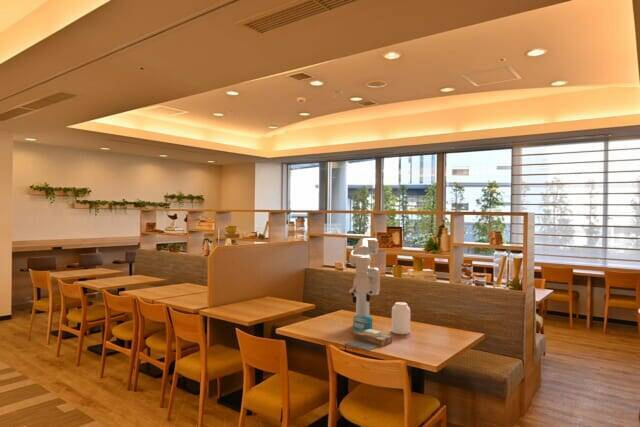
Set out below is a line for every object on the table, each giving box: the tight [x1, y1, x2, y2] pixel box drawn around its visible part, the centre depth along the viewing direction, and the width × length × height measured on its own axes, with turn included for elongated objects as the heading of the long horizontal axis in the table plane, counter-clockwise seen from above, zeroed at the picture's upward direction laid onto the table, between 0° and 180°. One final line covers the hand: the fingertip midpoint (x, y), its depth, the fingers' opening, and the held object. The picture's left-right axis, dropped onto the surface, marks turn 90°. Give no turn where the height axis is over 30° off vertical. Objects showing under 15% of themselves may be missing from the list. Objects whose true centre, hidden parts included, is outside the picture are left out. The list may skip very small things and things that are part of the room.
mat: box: [344, 339, 381, 351], centre depth 266 cm, size 12×18×1 cm, turn 49°
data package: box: [352, 314, 373, 334], centre depth 291 cm, size 12×4×12 cm, turn 60°
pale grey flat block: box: [364, 328, 382, 337], centre depth 275 cm, size 6×9×2 cm, turn 49°
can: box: [390, 301, 411, 335], centre depth 297 cm, size 12×12×20 cm
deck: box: [354, 330, 393, 347], centre depth 275 cm, size 12×20×4 cm, turn 49°
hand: (361, 301), depth 280 cm, fingers open, 9 cm apart
